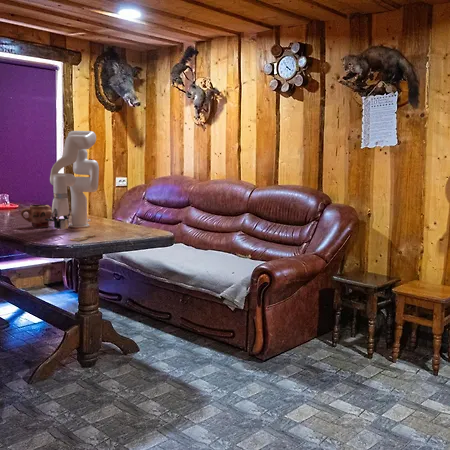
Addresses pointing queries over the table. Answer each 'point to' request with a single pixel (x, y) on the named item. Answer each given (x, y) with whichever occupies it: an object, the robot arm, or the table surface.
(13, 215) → the table surface
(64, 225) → the saucepan
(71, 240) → the spatula
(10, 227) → the table surface
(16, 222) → the table surface
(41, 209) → the brown ceramic pot
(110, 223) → the table surface
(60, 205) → the robot arm
